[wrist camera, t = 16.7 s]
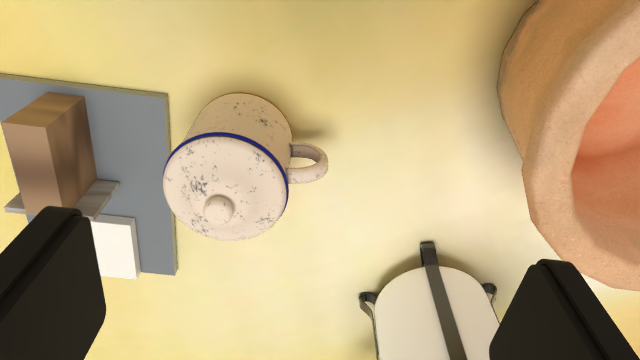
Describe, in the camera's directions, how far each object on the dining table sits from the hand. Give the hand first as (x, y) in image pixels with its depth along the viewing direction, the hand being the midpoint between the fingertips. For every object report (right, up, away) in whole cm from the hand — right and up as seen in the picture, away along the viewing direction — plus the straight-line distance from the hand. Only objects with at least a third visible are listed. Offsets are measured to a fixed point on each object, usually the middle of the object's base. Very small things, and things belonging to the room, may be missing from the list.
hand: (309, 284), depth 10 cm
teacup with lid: (-5, +6, +30) cm, 31 cm away
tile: (-21, -1, +32) cm, 39 cm away
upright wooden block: (-21, +6, +29) cm, 36 cm away
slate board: (-21, +2, +32) cm, 39 cm away
